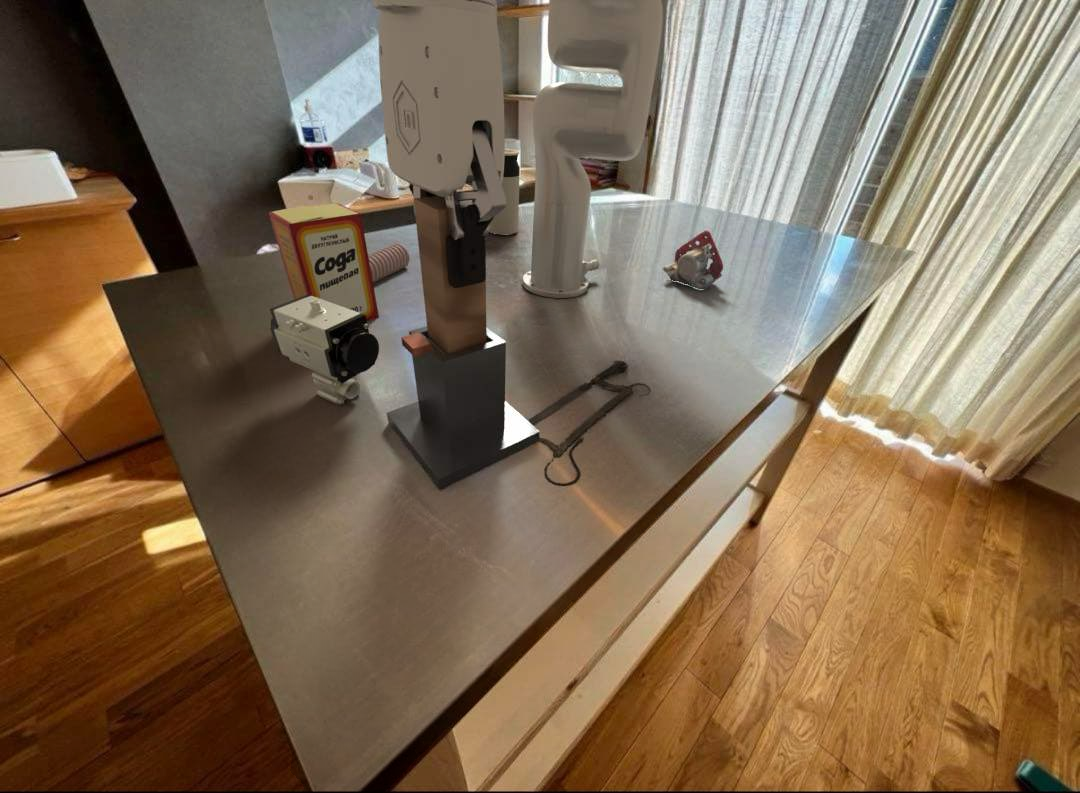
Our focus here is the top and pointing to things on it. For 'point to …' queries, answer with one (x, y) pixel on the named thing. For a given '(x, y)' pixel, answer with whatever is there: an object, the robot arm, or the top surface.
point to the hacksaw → (591, 421)
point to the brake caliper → (696, 263)
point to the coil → (388, 261)
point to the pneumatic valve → (325, 344)
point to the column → (446, 284)
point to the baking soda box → (326, 255)
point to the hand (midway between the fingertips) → (453, 272)
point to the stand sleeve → (459, 410)
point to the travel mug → (508, 196)
